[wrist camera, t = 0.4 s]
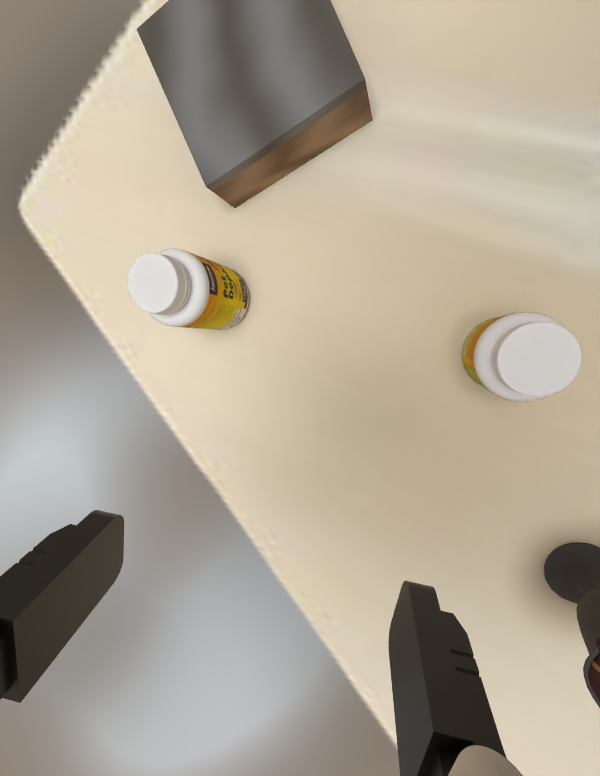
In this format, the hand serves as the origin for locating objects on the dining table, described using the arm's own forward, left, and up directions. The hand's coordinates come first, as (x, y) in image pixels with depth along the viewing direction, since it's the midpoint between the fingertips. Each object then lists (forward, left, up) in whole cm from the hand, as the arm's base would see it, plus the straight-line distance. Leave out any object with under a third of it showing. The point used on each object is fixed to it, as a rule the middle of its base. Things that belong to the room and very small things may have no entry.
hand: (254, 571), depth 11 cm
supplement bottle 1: (+7, -15, -24) cm, 29 cm away
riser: (-4, -28, -23) cm, 36 cm away
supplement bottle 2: (-12, -1, -24) cm, 26 cm away
